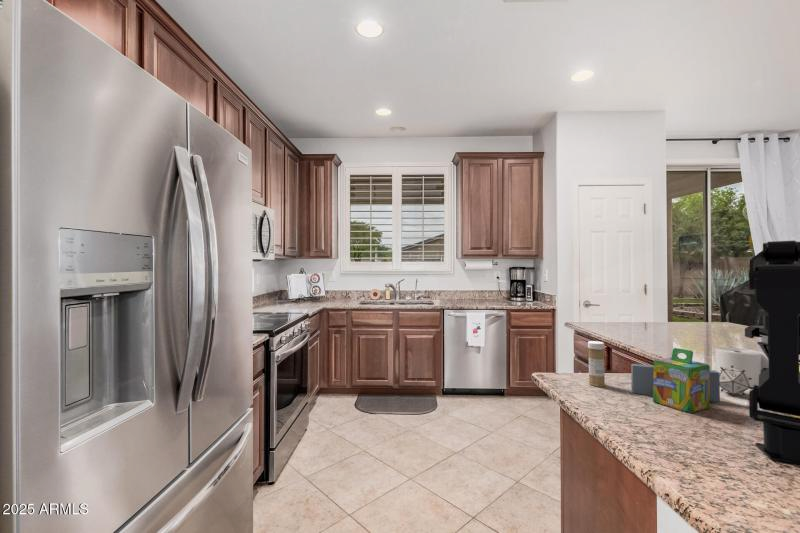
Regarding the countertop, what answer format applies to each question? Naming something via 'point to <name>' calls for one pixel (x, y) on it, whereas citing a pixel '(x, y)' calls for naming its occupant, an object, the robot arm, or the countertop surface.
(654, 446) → the countertop surface
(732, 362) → the toilet tissue
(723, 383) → the game die
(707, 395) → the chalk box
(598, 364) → the sprinkles bottle
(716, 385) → the board
